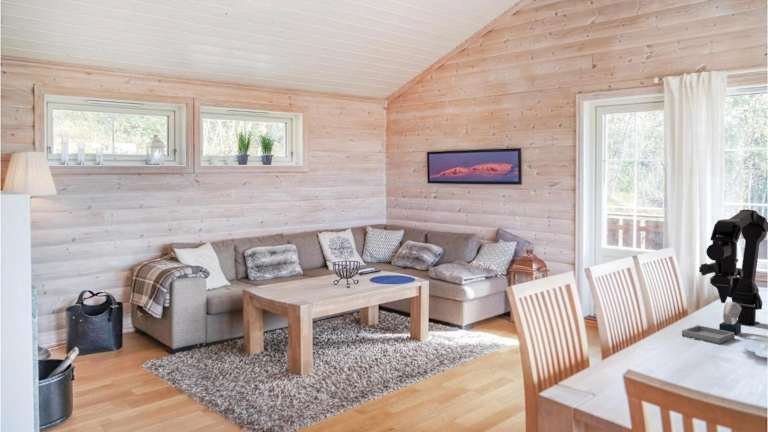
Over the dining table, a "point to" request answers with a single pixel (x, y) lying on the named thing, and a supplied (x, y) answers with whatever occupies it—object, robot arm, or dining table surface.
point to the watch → (731, 318)
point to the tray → (708, 334)
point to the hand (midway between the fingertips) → (726, 300)
